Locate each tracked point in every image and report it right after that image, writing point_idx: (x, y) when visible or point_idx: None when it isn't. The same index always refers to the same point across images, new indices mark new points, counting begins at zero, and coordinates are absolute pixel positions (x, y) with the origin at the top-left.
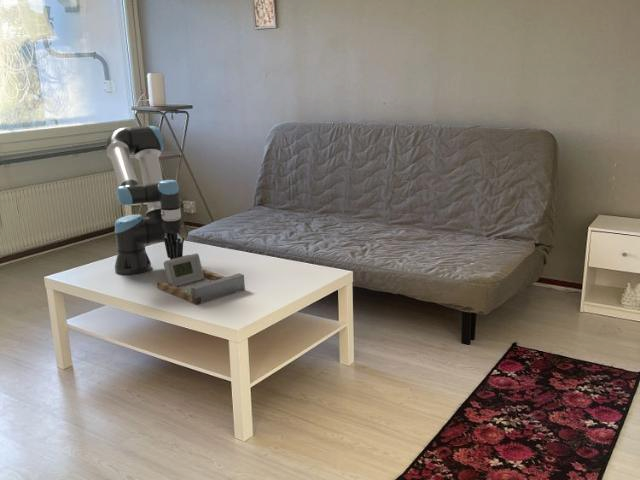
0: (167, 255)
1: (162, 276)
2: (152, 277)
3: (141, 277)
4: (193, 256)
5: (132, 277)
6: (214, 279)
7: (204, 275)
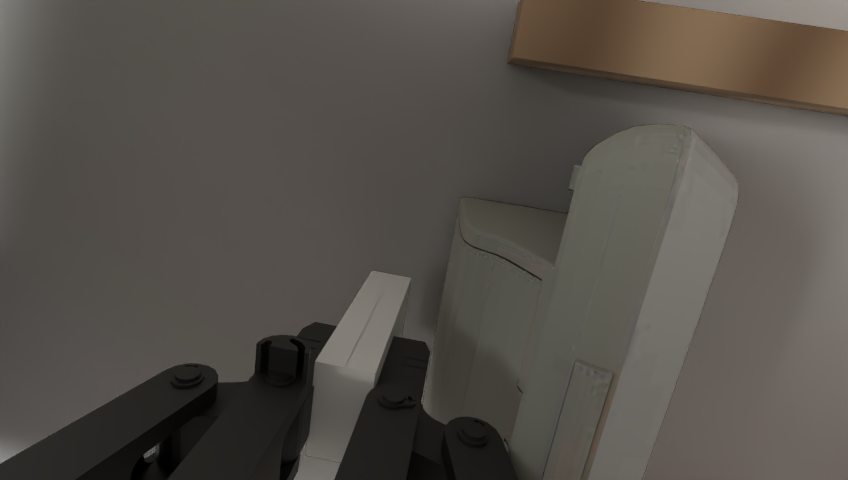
0: (153, 474)
1: (187, 284)
2: (144, 349)
3: (73, 393)
4: (693, 315)
5: (20, 427)
6: (836, 112)
7: (619, 77)
